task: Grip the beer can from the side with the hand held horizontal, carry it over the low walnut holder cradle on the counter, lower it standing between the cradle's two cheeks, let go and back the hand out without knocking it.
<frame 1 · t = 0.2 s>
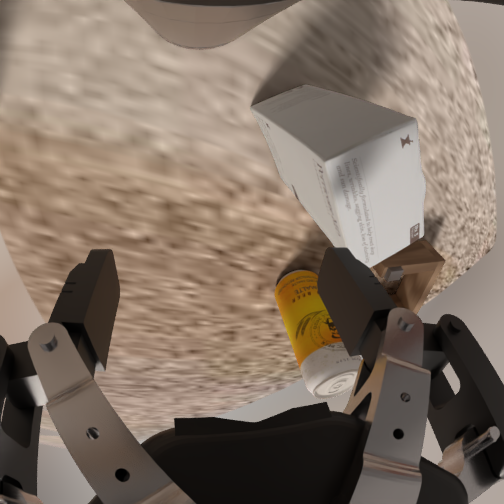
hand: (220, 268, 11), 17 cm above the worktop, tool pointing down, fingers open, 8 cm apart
holder: (381, 275, 39), on the worktop
skincare box: (294, 132, 25), on the worktop
beer can: (295, 283, 37), on the worktop
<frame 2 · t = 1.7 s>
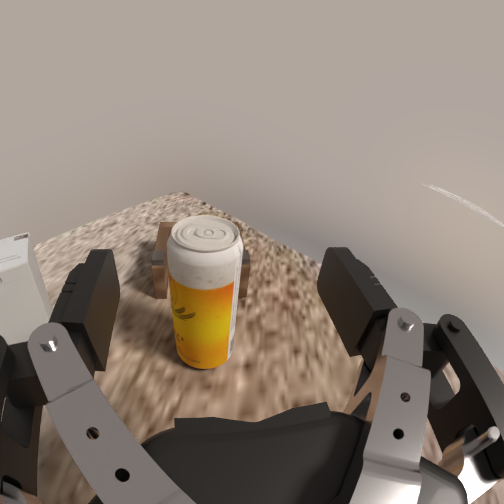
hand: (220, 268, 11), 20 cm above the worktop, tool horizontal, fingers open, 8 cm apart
holder: (199, 274, 41), on the worktop
skincare box: (44, 365, 24), on the worktop
beer can: (204, 351, 31), on the worktop
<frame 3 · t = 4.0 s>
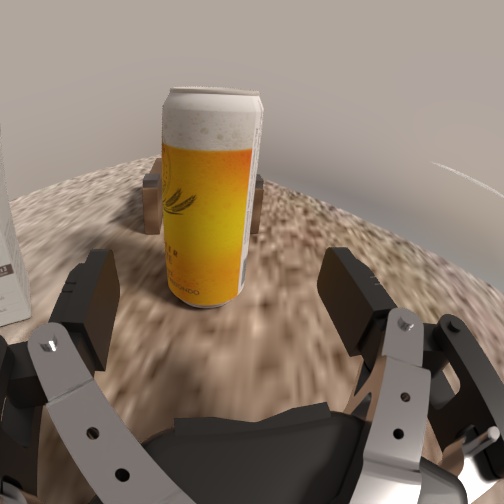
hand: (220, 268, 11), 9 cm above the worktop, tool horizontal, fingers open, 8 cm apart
holder: (200, 212, 34), on the worktop
beer can: (205, 288, 23), on the worktop
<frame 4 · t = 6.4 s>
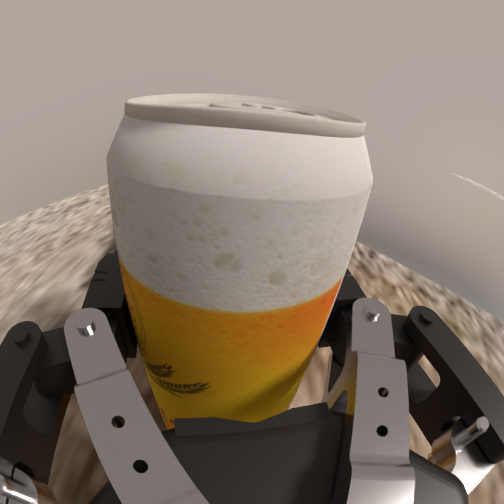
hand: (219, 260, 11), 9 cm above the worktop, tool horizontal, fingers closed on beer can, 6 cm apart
beer can: (220, 420, 14), on the worktop, touching gripper
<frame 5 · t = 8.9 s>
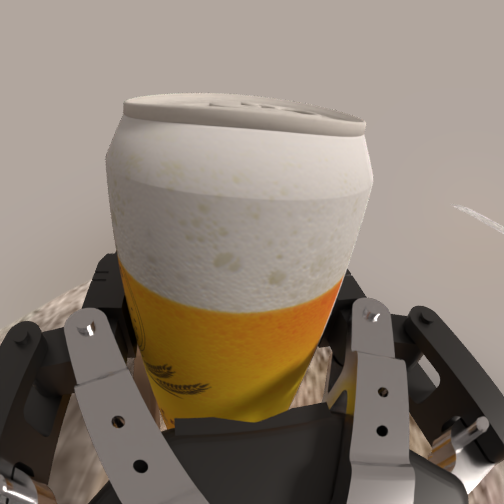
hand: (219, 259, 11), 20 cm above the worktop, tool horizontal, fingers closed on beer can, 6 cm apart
holder: (208, 425, 23), on the worktop
beer can: (221, 420, 14), point 11 cm above the worktop, touching gripper
when the fingers open (11 cm above the worktop, at t = 11.5 s): beer can drops 2 cm, on the worktop.
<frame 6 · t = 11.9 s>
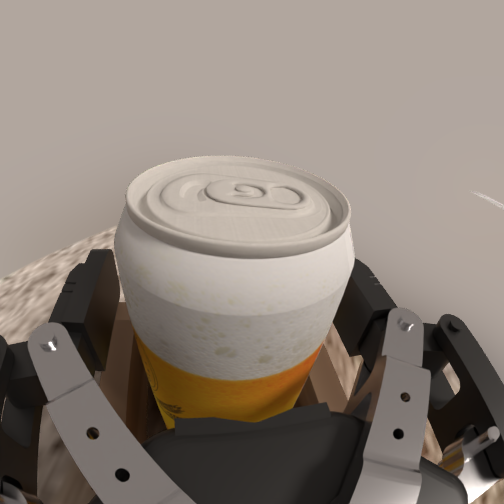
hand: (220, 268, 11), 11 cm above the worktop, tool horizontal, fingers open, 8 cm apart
holder: (220, 430, 15), on the worktop
beer can: (222, 433, 15), on the worktop
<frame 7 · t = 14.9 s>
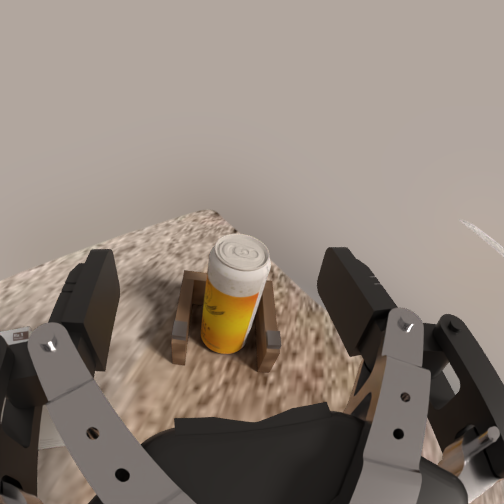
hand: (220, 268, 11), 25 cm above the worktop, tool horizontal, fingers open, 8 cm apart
holder: (222, 336, 37), on the worktop
skincare box: (54, 425, 22), on the worktop
beer can: (223, 338, 37), on the worktop
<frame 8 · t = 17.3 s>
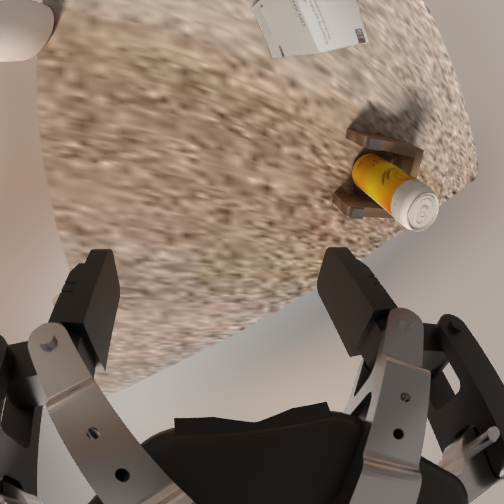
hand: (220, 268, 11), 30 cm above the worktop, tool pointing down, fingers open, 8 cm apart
alcohol: (32, 32, 21), on the worktop
holder: (366, 169, 42), on the worktop
skincare box: (282, 28, 29), on the worktop
beer can: (365, 169, 43), on the worktop
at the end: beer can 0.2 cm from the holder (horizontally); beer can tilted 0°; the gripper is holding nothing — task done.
